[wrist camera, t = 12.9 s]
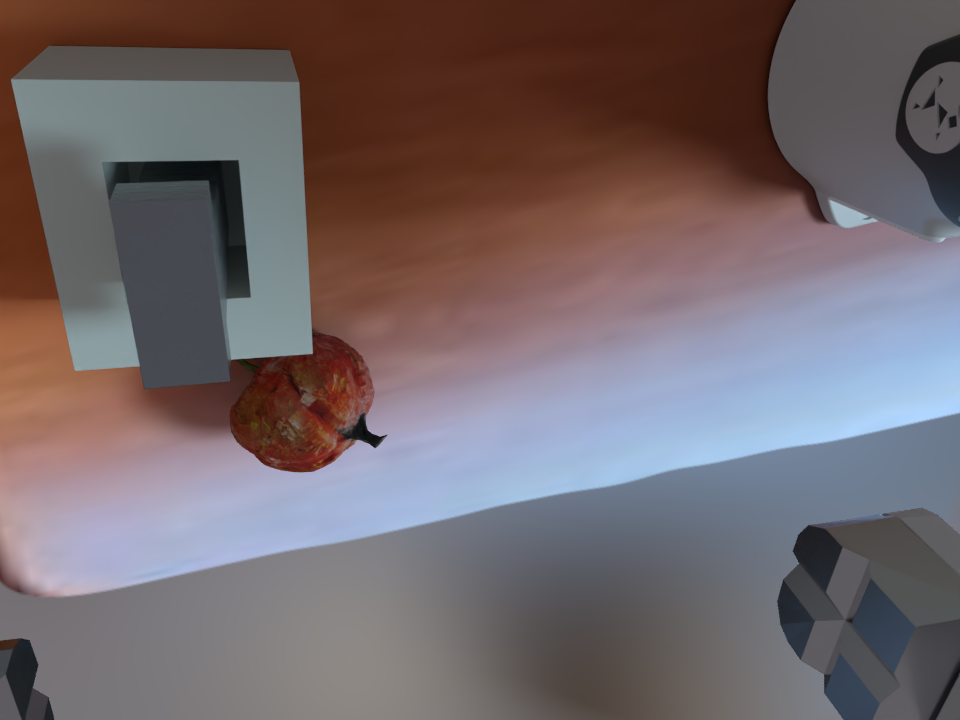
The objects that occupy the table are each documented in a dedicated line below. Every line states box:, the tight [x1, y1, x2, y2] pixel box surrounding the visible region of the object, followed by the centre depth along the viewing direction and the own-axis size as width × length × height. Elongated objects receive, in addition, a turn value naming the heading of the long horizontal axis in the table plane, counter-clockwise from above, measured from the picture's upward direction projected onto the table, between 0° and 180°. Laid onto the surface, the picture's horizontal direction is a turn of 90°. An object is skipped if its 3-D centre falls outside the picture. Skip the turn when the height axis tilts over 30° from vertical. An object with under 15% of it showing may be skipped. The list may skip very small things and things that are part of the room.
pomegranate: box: [230, 333, 387, 472], centre depth 42 cm, size 7×7×10 cm
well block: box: [11, 46, 313, 371], centre depth 36 cm, size 10×12×7 cm
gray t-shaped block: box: [109, 160, 231, 389], centre depth 33 cm, size 3×7×12 cm, turn 178°
